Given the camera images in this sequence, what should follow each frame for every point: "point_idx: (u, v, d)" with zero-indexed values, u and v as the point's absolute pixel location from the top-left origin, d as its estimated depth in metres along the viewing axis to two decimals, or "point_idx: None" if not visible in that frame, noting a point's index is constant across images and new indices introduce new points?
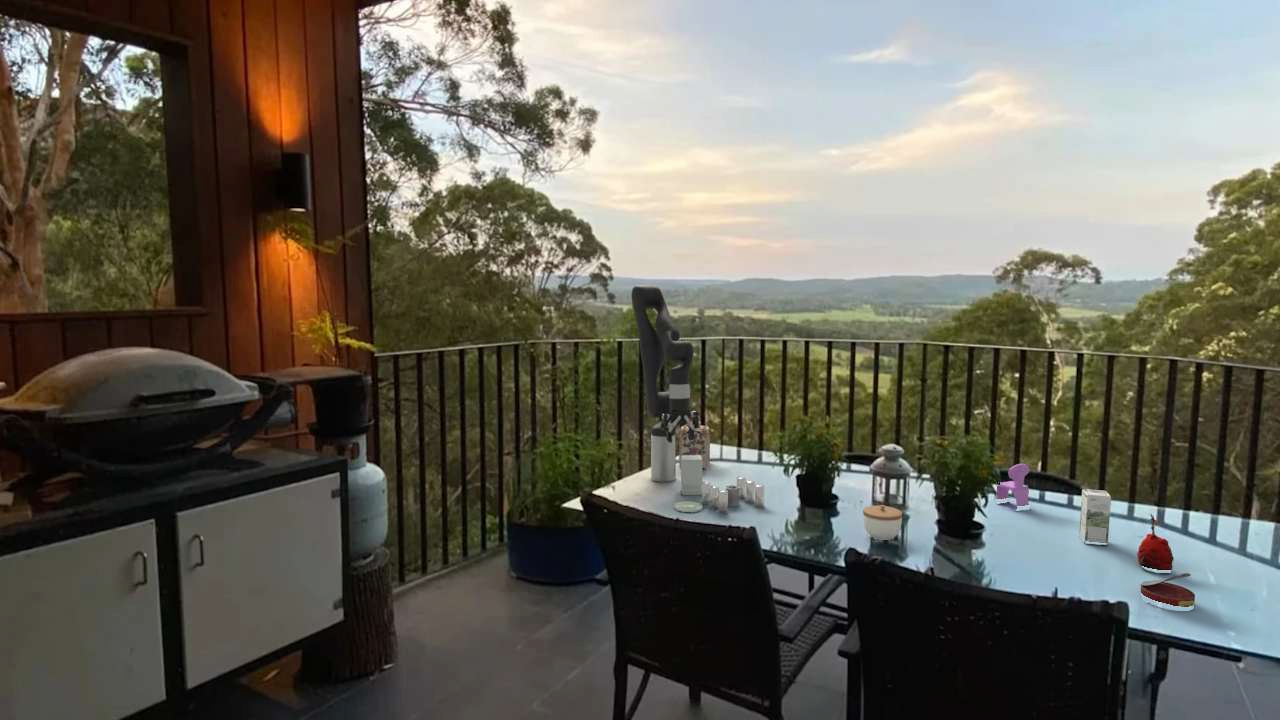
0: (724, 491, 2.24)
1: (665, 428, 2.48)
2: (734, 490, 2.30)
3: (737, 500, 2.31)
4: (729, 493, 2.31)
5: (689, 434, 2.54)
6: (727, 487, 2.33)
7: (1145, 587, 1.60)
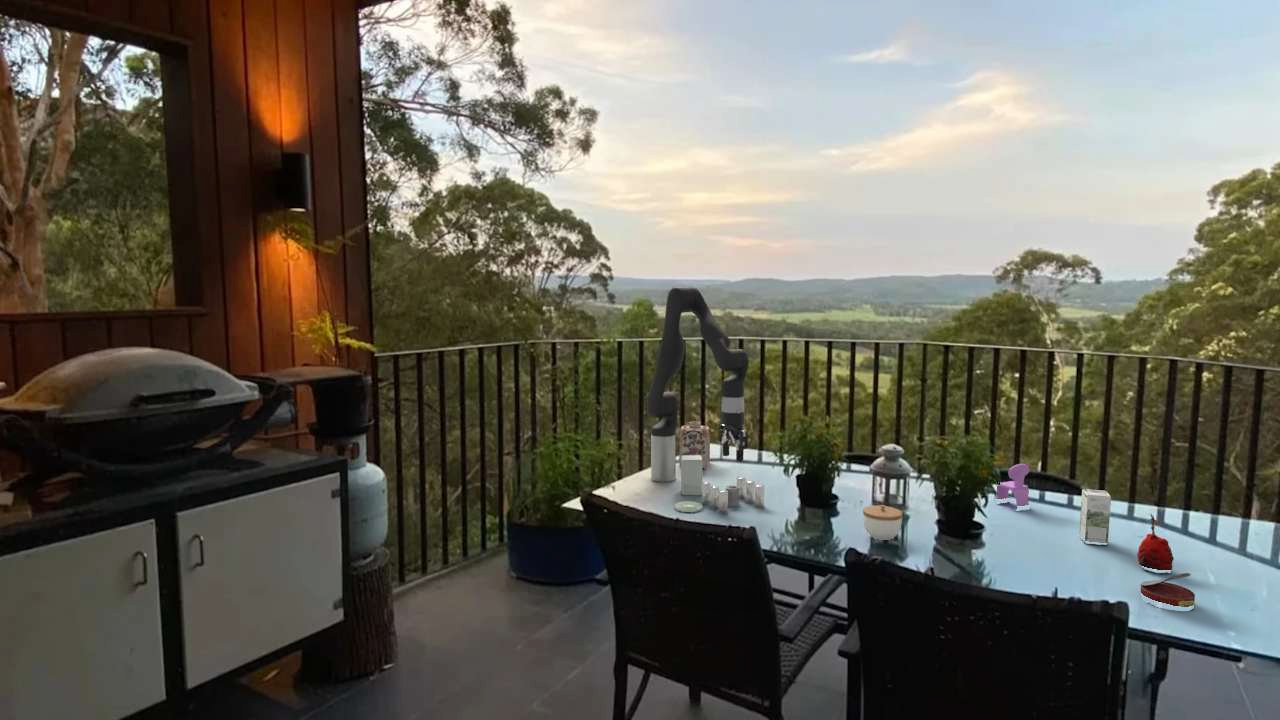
0: (724, 491, 2.24)
1: None
2: (734, 490, 2.30)
3: (737, 500, 2.31)
4: (729, 493, 2.31)
5: (725, 450, 2.35)
6: (727, 487, 2.33)
7: (1145, 587, 1.60)
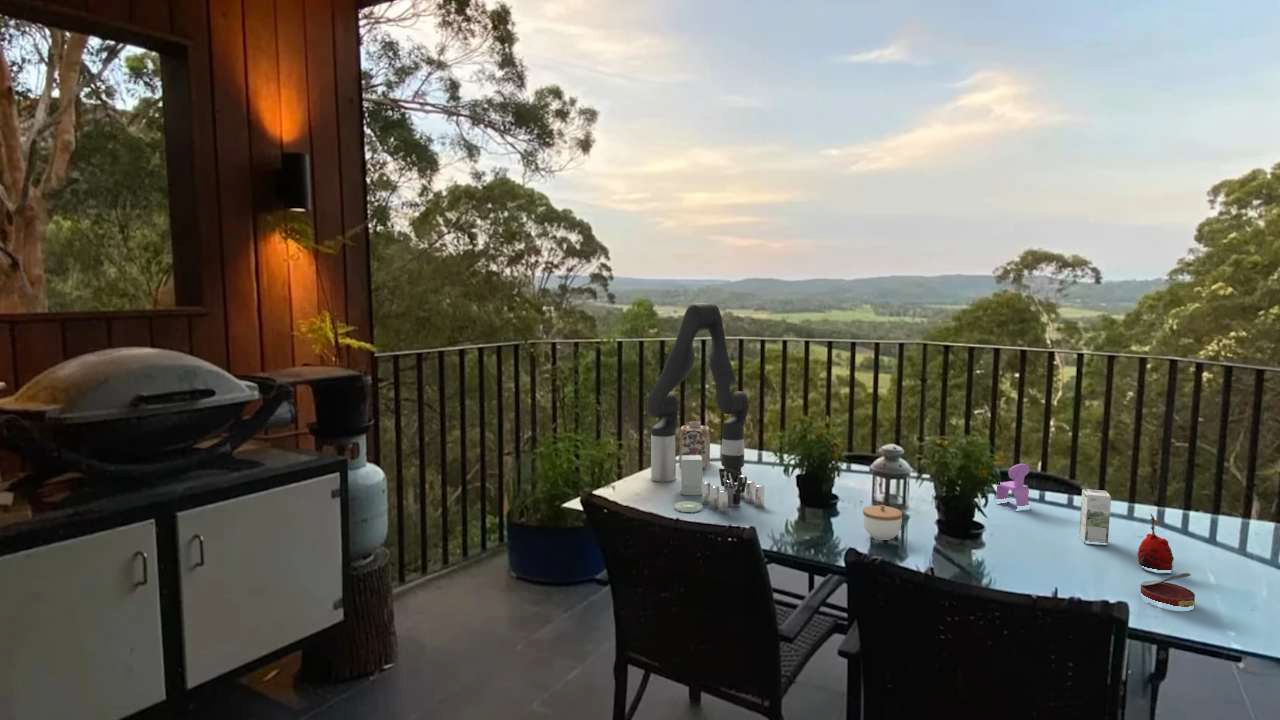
0: (724, 491, 2.24)
1: None
2: None
3: None
4: (729, 493, 2.31)
5: None
6: (727, 487, 2.33)
7: (1145, 587, 1.60)
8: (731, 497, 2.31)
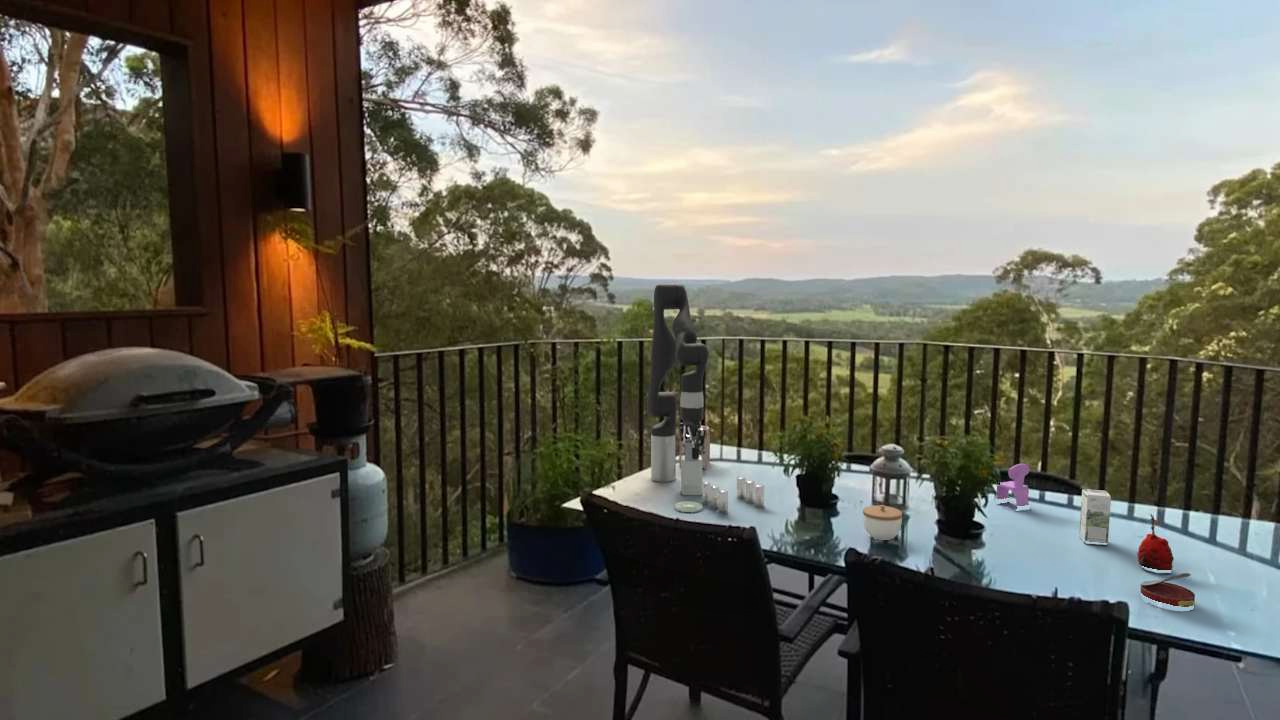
0: (724, 491, 2.24)
1: None
2: None
3: None
4: (688, 447, 2.26)
5: None
6: (686, 441, 2.28)
7: (1145, 587, 1.60)
8: (690, 451, 2.26)
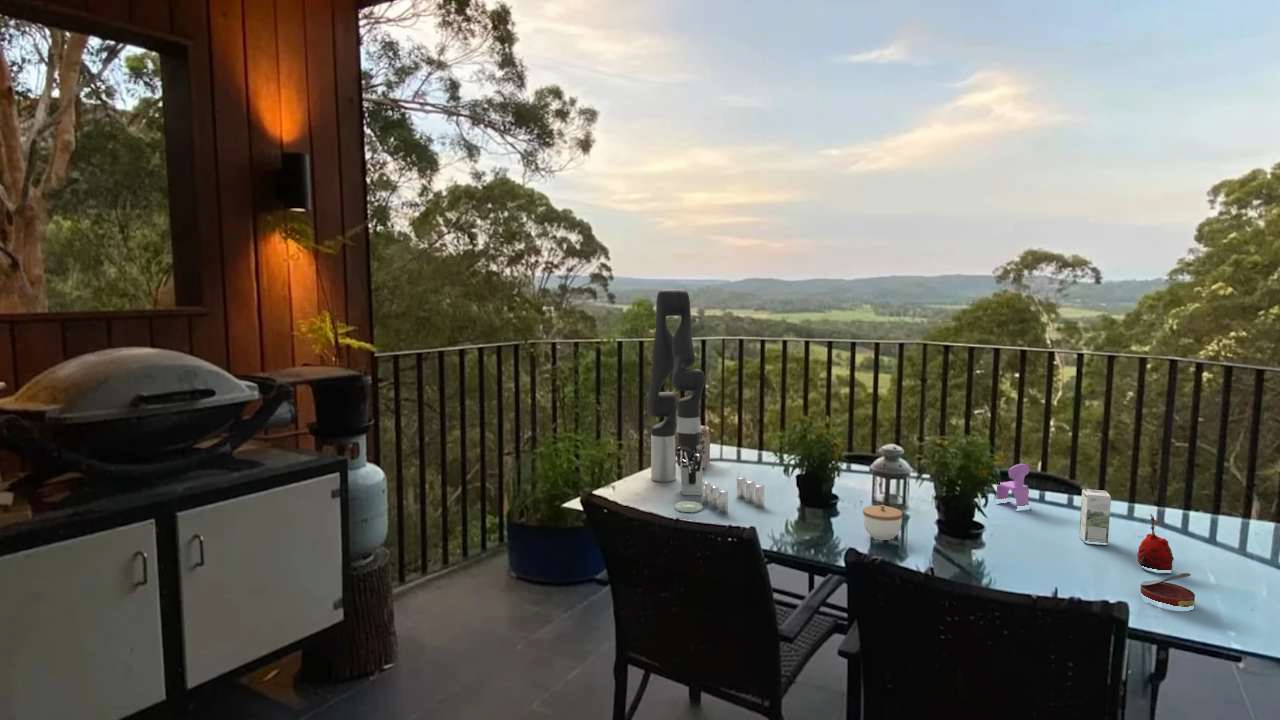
0: (724, 491, 2.24)
1: None
2: None
3: None
4: (685, 472, 2.26)
5: None
6: (683, 466, 2.28)
7: (1145, 587, 1.60)
8: (687, 476, 2.26)
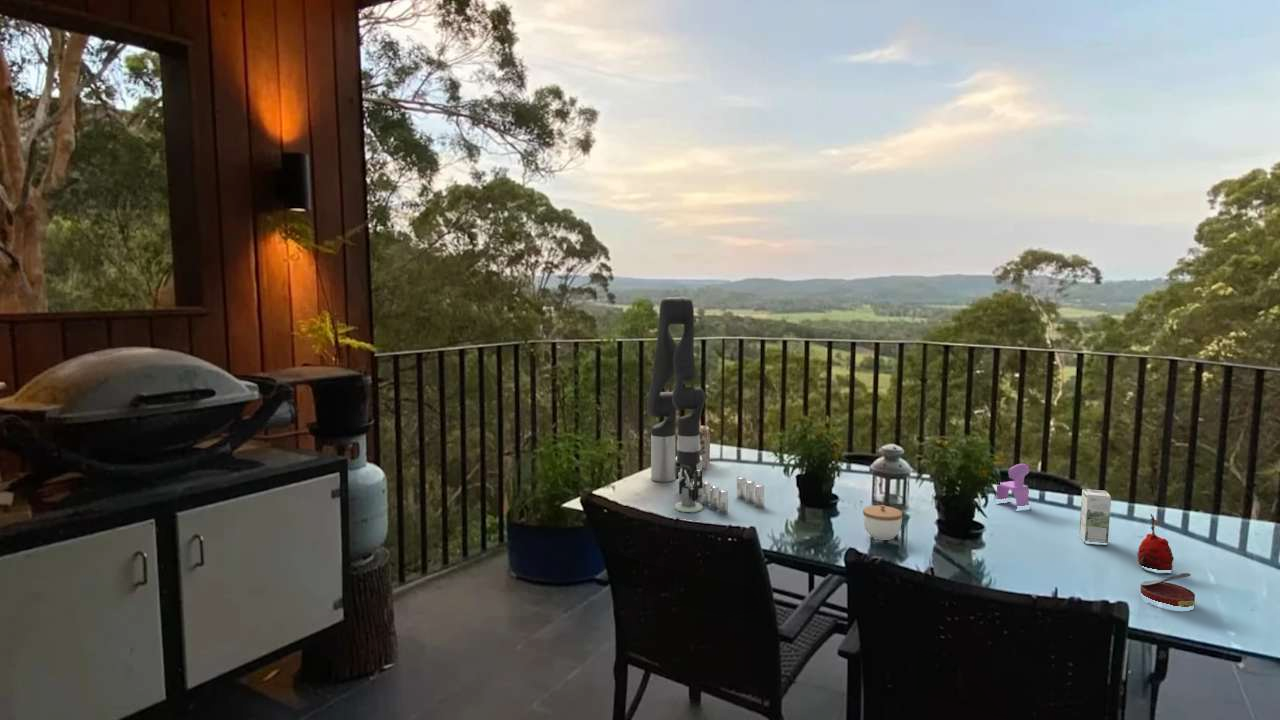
0: (724, 491, 2.24)
1: None
2: (690, 490, 2.27)
3: None
4: (685, 493, 2.27)
5: None
6: (683, 487, 2.29)
7: (1145, 587, 1.61)
8: (687, 497, 2.27)
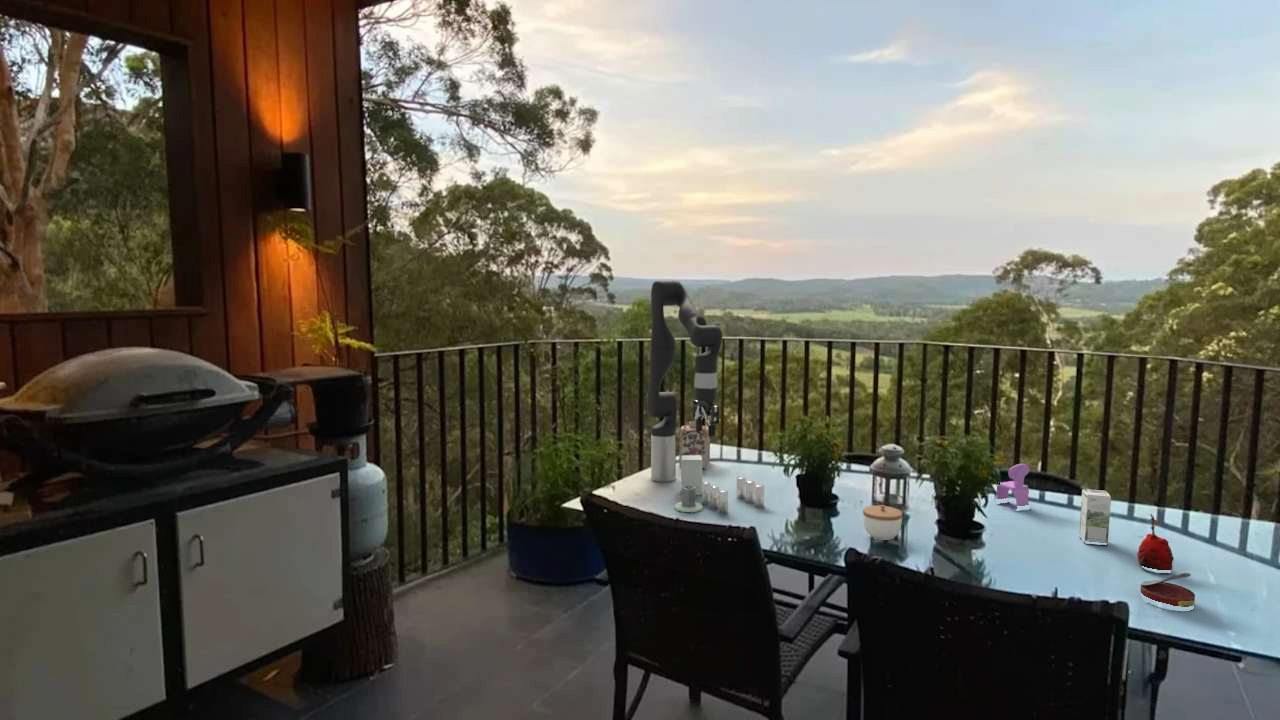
0: (724, 491, 2.24)
1: None
2: (690, 490, 2.27)
3: (693, 500, 2.28)
4: (685, 493, 2.27)
5: (698, 425, 2.37)
6: (683, 487, 2.29)
7: (1145, 587, 1.61)
8: (687, 497, 2.27)
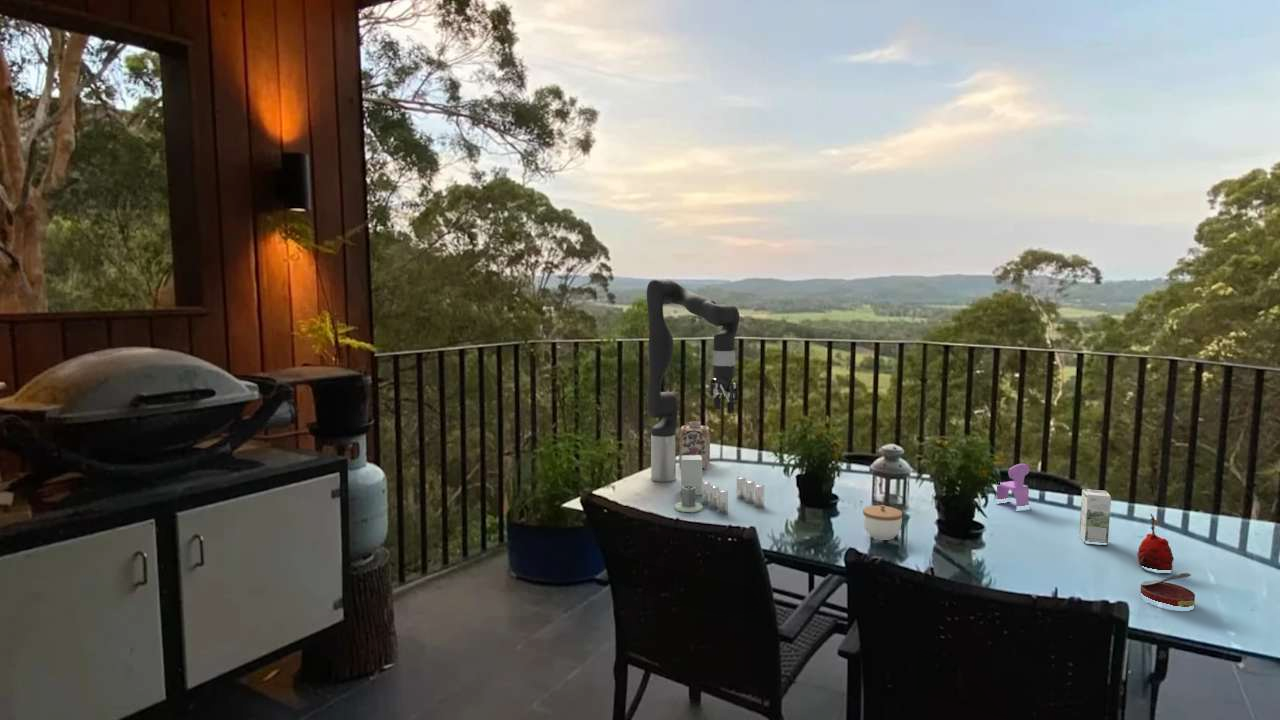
0: (724, 491, 2.24)
1: None
2: (690, 490, 2.27)
3: (693, 500, 2.28)
4: (685, 493, 2.27)
5: (717, 403, 2.42)
6: (683, 487, 2.29)
7: (1145, 587, 1.61)
8: (687, 497, 2.27)
